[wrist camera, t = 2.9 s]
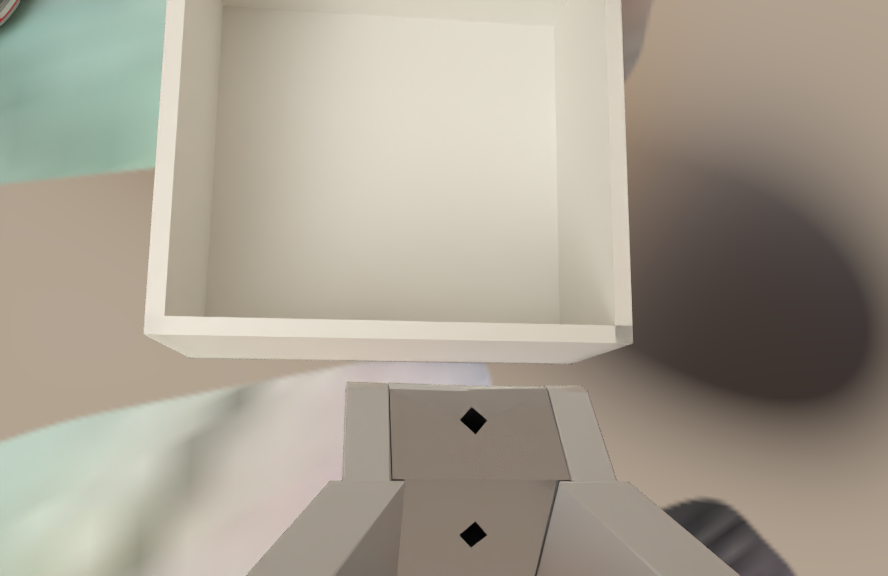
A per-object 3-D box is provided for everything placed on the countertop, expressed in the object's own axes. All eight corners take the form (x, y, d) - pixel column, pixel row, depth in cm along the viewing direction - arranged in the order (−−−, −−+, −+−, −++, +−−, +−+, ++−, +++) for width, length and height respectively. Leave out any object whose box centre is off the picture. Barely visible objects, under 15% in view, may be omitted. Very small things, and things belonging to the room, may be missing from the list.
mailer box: (190, 358, 34) (143, 334, 26) (211, -2, 37) (175, -119, 29) (571, 364, 36) (633, 343, 28) (563, 20, 39) (617, -86, 31)
